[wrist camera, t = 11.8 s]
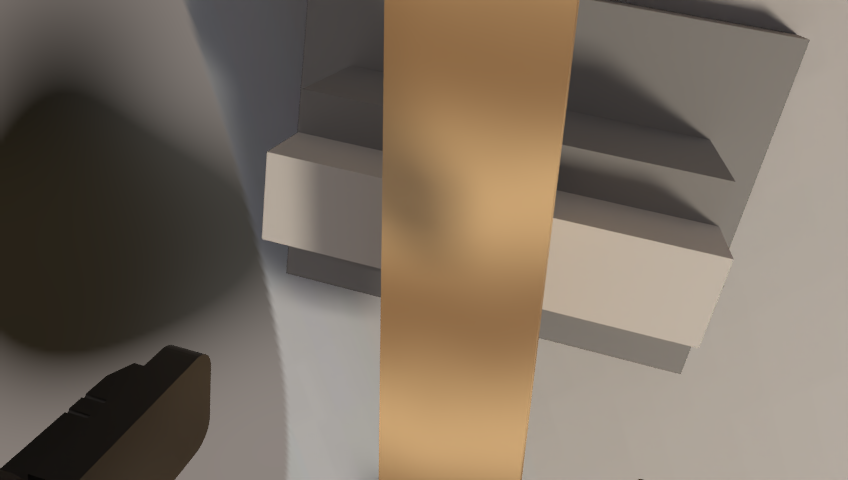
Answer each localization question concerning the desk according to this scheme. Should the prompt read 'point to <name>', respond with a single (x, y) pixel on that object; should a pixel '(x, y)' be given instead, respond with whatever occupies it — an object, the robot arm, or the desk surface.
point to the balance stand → (563, 168)
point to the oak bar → (466, 227)
